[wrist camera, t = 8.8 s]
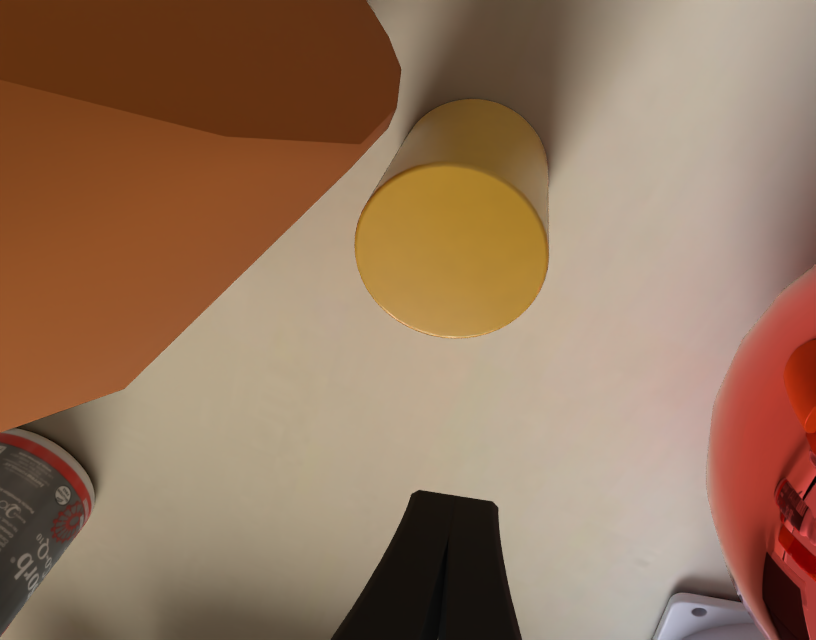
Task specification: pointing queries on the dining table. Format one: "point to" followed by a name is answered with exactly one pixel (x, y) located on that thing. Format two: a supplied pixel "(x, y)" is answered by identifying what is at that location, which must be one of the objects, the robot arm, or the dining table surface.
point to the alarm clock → (161, 168)
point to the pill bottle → (36, 513)
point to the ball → (770, 466)
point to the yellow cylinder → (459, 222)
